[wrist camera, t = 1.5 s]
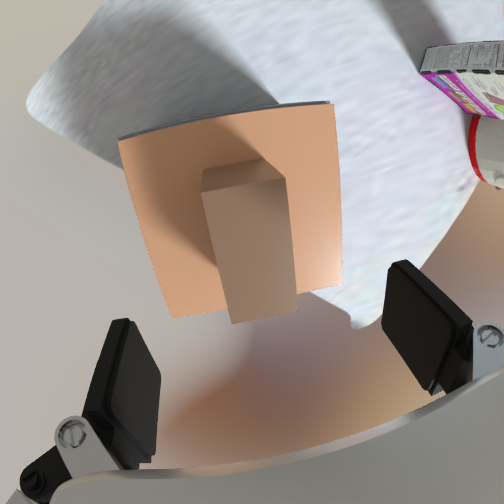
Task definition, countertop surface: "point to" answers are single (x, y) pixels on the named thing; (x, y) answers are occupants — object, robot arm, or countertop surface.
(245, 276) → the lid
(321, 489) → the robot arm
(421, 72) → the candy bar box
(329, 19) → the countertop surface
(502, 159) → the kitchen timer
